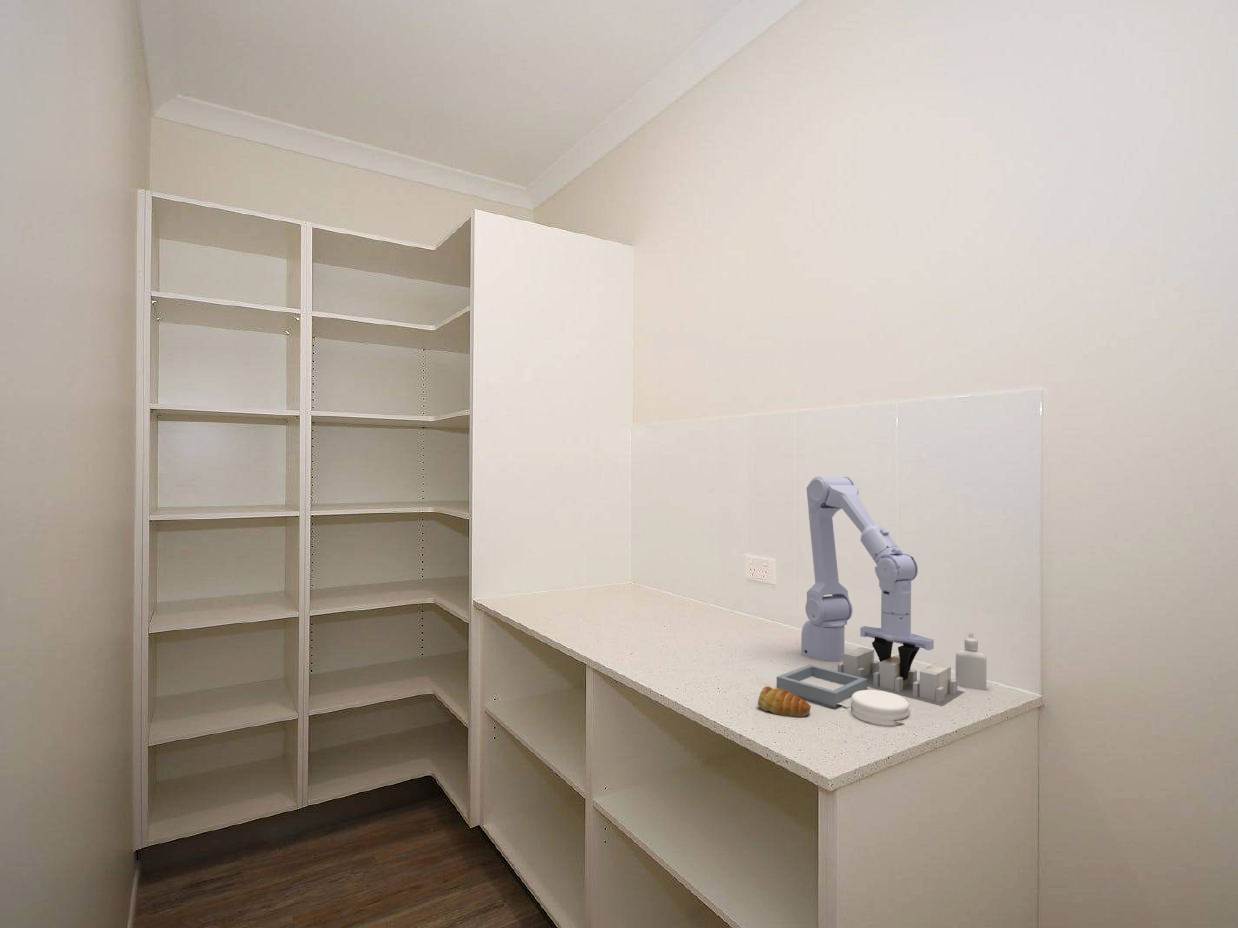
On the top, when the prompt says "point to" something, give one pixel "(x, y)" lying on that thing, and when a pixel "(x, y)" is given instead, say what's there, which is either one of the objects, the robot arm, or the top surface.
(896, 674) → the orange fuse
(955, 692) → the panel
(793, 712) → the pastry
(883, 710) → the white round tin
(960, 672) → the eye dropper bottle
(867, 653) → the ivory fuse left
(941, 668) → the block
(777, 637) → the top surface
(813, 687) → the tray
